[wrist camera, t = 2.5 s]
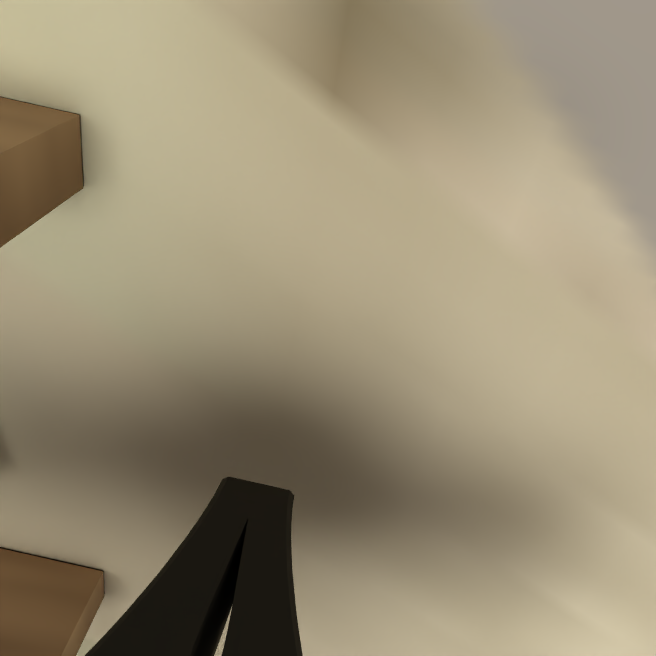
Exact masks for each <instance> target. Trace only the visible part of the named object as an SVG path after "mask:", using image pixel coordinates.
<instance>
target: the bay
mask: <svg viewBox="0 0 656 656" xmlns="http://www.w3.org/2000/svg"><path fill="white" fill-rule="evenodd" d="M82 188H83V176H82V157H81V138H80V118H79V115H77V114H73V113H69V112H64V111H60V110H55V109H51V108H46V107H42V106H38V105H33V104H29V103H24V102H20V101H15V100H11V99H7V98H2V97H0V247H2V246H3V245H4V244H6V243H7V242H9V241H10V240H11V239H13V238H14V237H16V236H17V235H18V234H20V233H21V232H23V231H24V230H25V229H27V228H28V227H29V226H31V225H32V224H34V223H35V222H36V221H38V220H39V219H41V218H42V217H43V216H45V215H46V214H48V213H49V212H50V211H52V210H53V209H55V208H56V207H57V206H59V205H60V204H62V203H63V202H64V201H66V200H67V199H68V198H70V197H71V196H73V195H74V194H75V193H77V192H78V191H80V190H81V189H82ZM103 598H104V580H103V571H99V570H95V569H90V568H86V567H81V566H77V565H72V564H68V563H63V562H59V561H55V560H50V559H46V558H41V557H37V556H32V555H28V554H23V553H19V552H15V551H10V550H6V549H1V548H0V656H76V654H77V652H78V650H79V648H80V646H81V644H82V642H83V640H84V638H85V636H86V633H87V631H88V629H89V627H90V625H91V623H92V621H93V619H94V617H95V615H96V613H97V610H98V608H99V606H100V604H101V602H102V600H103Z"/></svg>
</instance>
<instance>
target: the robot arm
mask: <svg viewBox="0 0 656 656" xmlns="http://www.w3.org/2000/svg"><path fill="white" fill-rule="evenodd" d="M293 500H294V495H293V494H292V492H291V491H290V490H286V489H282V488H277V487H273V486H268V485H264V484H259V483H255V482H251V481H246V480H242V479H237V478H233V477H227V478H224V479H223V480H222V481H221V483H220V485H219V487H218V489H217V491H216V493H215V494H214V496H213V498H212V499H211V501H210V503H209V504H208V506H207V508H206V509H205V511H204V512H203V514H202V515H201V517H200V518H199V520H198V521H197V523H196V524H195V525H194V527H193V528H192V530H191V531H190V533H189V534H188V535H187V537H186V538H185V539H184V541H183V542H182V543H181V545H180V546H179V547H178V549H177V550H176V551H175V553H174V554H173V555H172V557H171V558H170V559H169V561H168V562H167V563H166V564H165V566H164V567H163V568H162V570H161V571H160V572H159V573H158V575H157V576H156V577H155V578H154V579H153V581H152V582H151V583H150V584H149V585H148V586H147V588H146V589H145V590H144V591H143V592H142V593H141V595H140V596H139V597H138V598H137V599H136V601H135V602H134V603H133V604H132V605H131V606H130V608H129V609H128V610H127V611H126V612H125V613H124V614H123V616H122V617H121V618H120V619H119V620H118V621H117V622H116V623H115V624H114V625H113V627H112V628H111V629H110V630H109V631H108V632H107V633H106V634H105V635H104V636H103V637H102V638H101V639H100V640H99V641H98V643H97V644H96V645H95V646H94V647H93V648H92V649H91V650H90V651H89V652H88V653H87V654H86V655H85V656H214V654H215V652H216V649H217V646H218V643H219V641H220V638H221V635H222V632H223V629H224V627H225V624H226V621H227V618H228V615H229V613H230V610H231V607H232V611H231V616H230V622H229V627H228V631H227V636H226V640H225V644H224V649H223V653H222V656H303V655H302V649H301V642H300V636H299V629H298V622H297V614H296V605H295V594H294V584H293V573H292V554H291V520H292V507H293ZM232 604H233V605H232Z"/></svg>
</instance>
